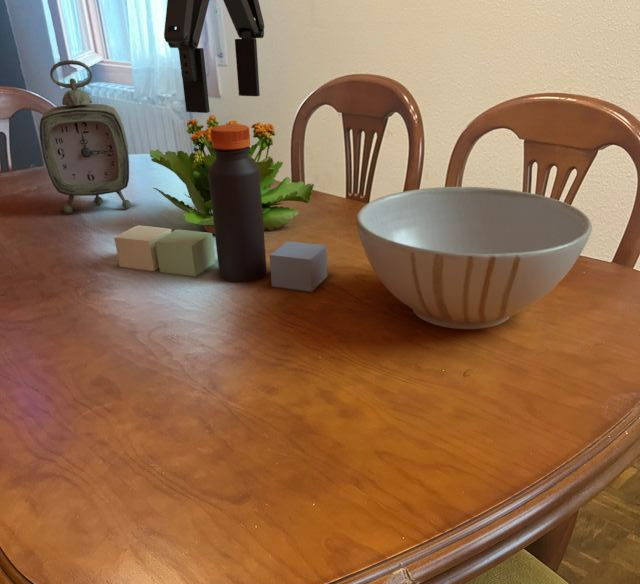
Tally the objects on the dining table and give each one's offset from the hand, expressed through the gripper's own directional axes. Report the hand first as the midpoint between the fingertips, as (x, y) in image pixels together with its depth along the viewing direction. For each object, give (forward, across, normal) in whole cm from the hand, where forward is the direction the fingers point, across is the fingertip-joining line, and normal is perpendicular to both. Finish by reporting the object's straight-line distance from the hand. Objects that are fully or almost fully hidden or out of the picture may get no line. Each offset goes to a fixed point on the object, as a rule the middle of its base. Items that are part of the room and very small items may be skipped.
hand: (225, 103), depth 82 cm
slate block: (+23, 0, -9) cm, 25 cm away
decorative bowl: (+23, -2, -32) cm, 40 cm away
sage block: (+23, 0, +9) cm, 24 cm away
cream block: (+23, 0, +16) cm, 28 cm away
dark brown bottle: (+23, 0, 0) cm, 23 cm away
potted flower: (+23, +20, +13) cm, 33 cm away
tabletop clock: (+23, +24, +43) cm, 54 cm away
